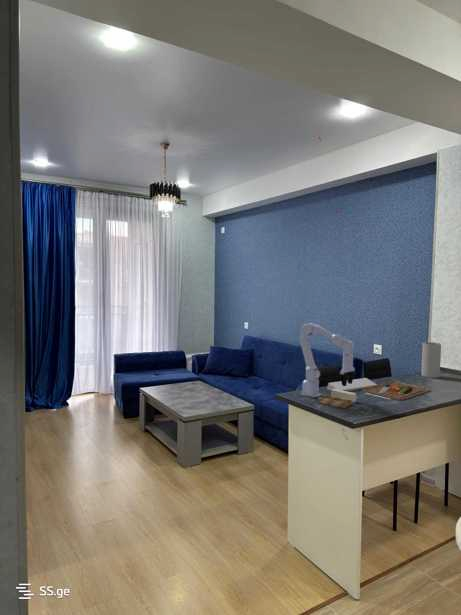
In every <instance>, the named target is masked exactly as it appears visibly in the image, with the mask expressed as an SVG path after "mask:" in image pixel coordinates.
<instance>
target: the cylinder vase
mask: <svg viewBox="0 0 461 615" xmlns="http://www.w3.org/2000/svg"><path fill="white" fill-rule="evenodd" d="M421 348H422V350H421V352H422V353H421V376H422V377H424V378H428V379H439V378H440V377H441V358H442V357H441V356H442V343H440V342H432V341H431V342H429V341H426V342H425V341H424V342H422V347H421Z"/></svg>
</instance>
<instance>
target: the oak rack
mask: <svg viewBox="0 0 461 615" xmlns="http://www.w3.org/2000/svg"><path fill="white" fill-rule="evenodd" d="M323 396H324V397H321V396H318V397H317V398H318V399H317V403H319V404H324V405H328V406H331V407H336V408H341V409H346V408H348V407H349V406H352V403H351V401H352V400H350V399H345V398H340V397H335V396H331V395H330V394H329V395H328V394H324V395H323Z"/></svg>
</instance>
